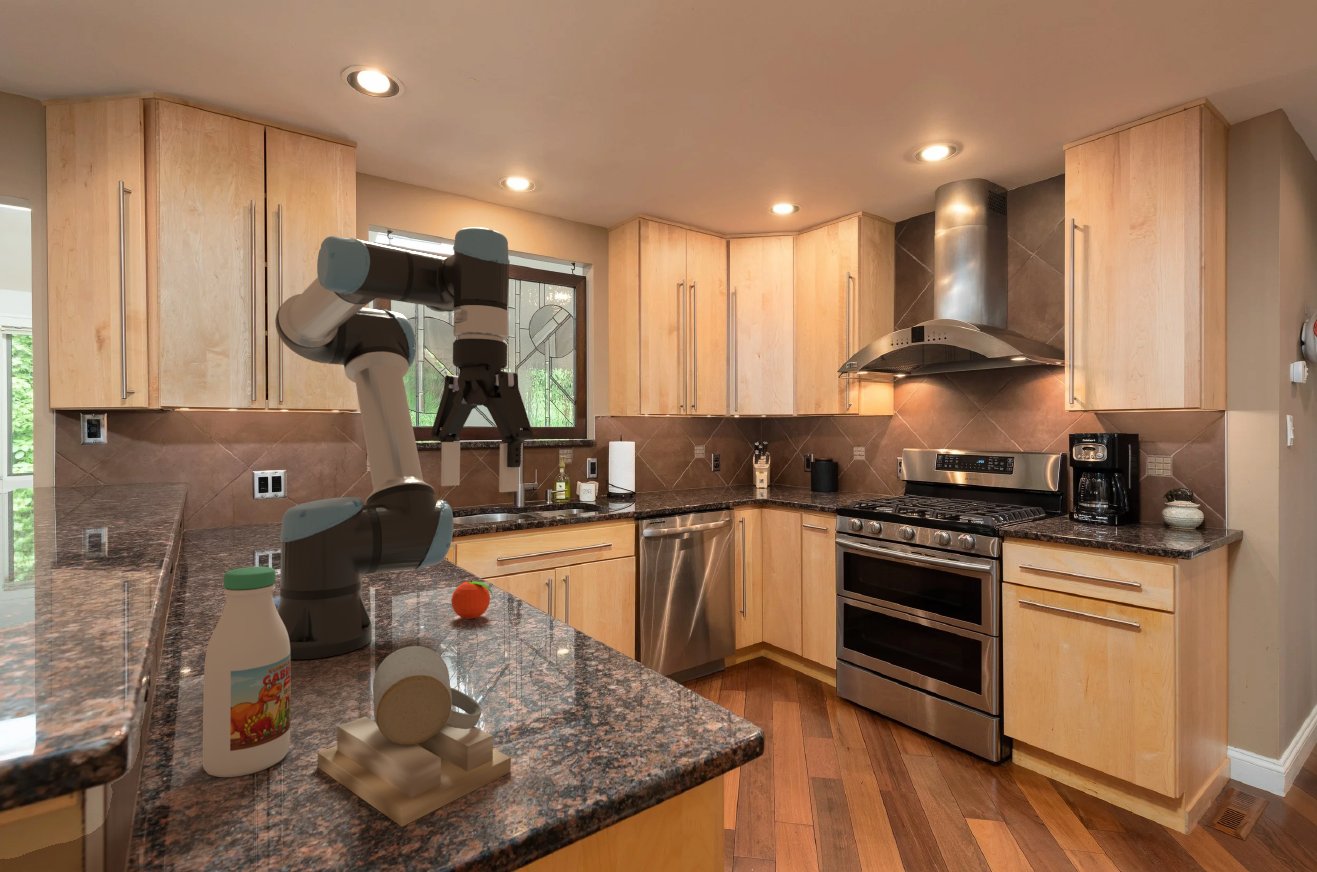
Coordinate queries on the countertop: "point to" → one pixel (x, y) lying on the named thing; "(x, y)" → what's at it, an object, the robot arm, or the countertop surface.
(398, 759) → the wooden block with ridges
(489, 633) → the countertop surface
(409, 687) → the speckled stoneware cup
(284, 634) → the milk bottle
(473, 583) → the clementine
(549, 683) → the countertop surface
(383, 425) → the robot arm
